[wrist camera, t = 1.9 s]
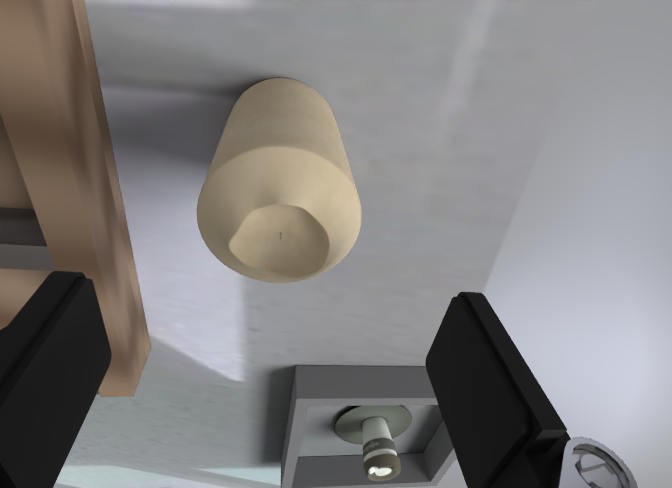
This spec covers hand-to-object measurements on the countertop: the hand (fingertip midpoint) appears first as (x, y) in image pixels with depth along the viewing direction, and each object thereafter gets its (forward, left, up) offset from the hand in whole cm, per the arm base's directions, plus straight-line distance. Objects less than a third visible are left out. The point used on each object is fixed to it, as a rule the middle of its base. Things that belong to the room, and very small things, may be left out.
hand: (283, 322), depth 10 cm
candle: (-1, 0, -13) cm, 13 cm away
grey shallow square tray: (+27, +11, -12) cm, 32 cm away
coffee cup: (+27, +11, -12) cm, 32 cm away
